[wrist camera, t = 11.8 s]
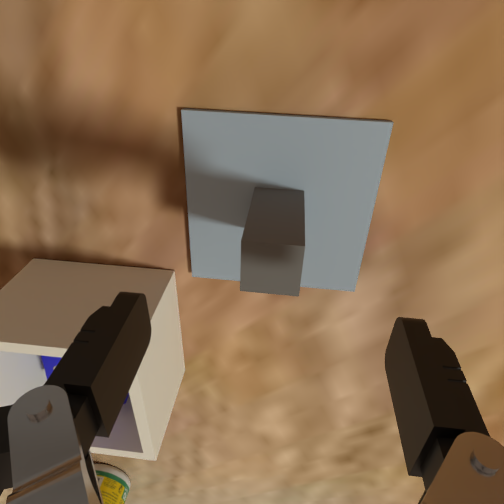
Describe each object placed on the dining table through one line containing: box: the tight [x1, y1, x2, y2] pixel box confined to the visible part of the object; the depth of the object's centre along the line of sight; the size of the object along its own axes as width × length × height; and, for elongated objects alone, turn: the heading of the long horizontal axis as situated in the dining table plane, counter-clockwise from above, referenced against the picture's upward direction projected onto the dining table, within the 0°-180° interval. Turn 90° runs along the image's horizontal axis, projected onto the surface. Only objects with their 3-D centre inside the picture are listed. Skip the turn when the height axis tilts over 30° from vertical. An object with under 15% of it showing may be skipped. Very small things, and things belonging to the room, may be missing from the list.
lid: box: [181, 108, 393, 296], centre depth 19 cm, size 10×10×6 cm
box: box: [0, 258, 185, 461], centre depth 24 cm, size 9×9×7 cm
